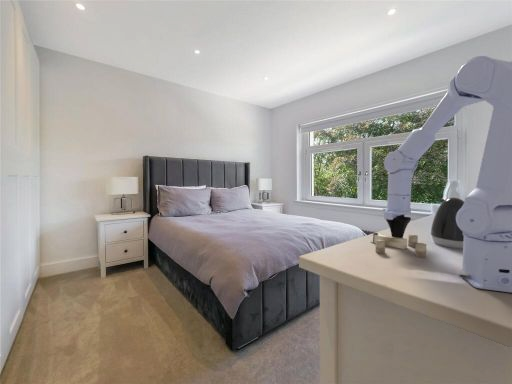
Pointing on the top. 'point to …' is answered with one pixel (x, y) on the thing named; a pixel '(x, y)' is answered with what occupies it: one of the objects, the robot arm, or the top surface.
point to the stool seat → (412, 242)
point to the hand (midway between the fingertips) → (397, 241)
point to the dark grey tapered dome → (447, 224)
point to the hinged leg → (391, 241)
